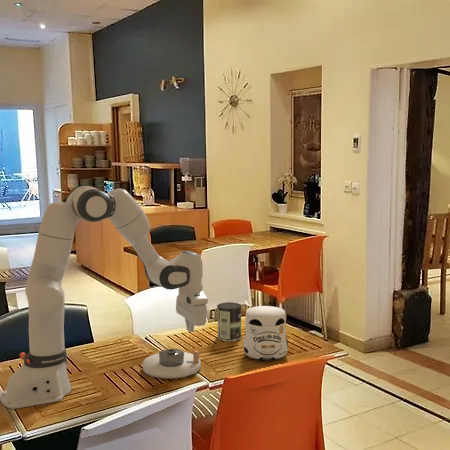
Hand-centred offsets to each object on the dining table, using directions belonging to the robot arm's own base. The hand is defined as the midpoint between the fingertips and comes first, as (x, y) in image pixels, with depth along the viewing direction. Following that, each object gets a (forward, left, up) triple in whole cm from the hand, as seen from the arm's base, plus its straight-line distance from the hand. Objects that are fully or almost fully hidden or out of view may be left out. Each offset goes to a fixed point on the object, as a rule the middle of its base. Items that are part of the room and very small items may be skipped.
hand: (190, 330), depth 214 cm
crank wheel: (-8, -1, -13) cm, 15 cm away
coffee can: (+29, +16, -13) cm, 35 cm away
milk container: (+28, -10, -13) cm, 32 cm away
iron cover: (-9, -1, -10) cm, 13 cm away
